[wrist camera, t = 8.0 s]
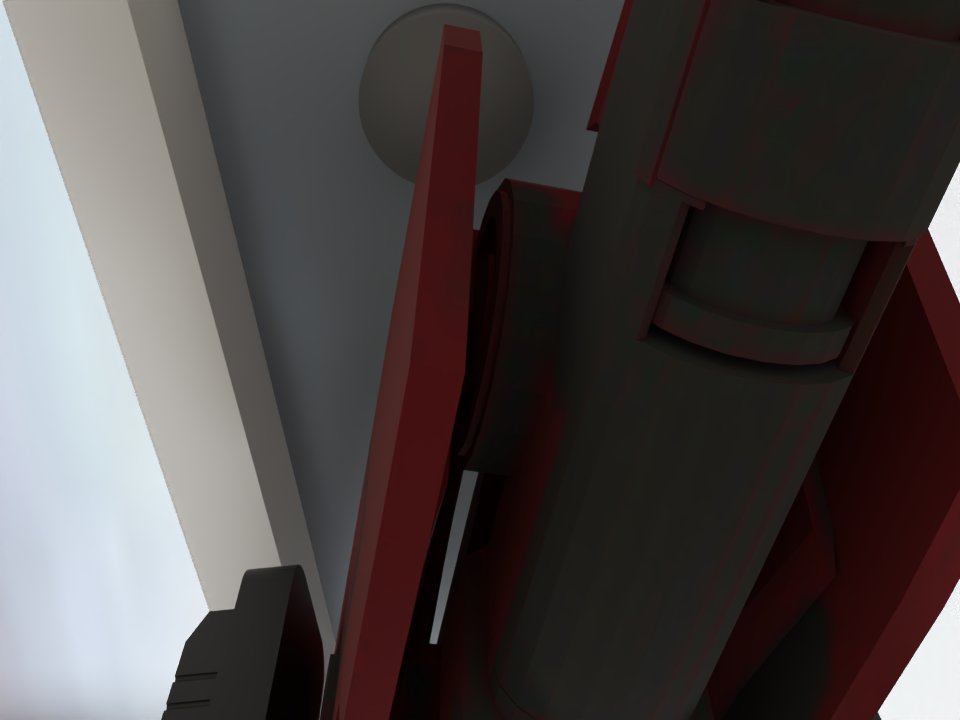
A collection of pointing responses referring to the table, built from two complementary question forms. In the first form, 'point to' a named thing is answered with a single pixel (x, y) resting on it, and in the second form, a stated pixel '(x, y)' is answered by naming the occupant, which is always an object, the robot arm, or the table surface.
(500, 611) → the mechanical component
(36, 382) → the table surface
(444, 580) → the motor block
